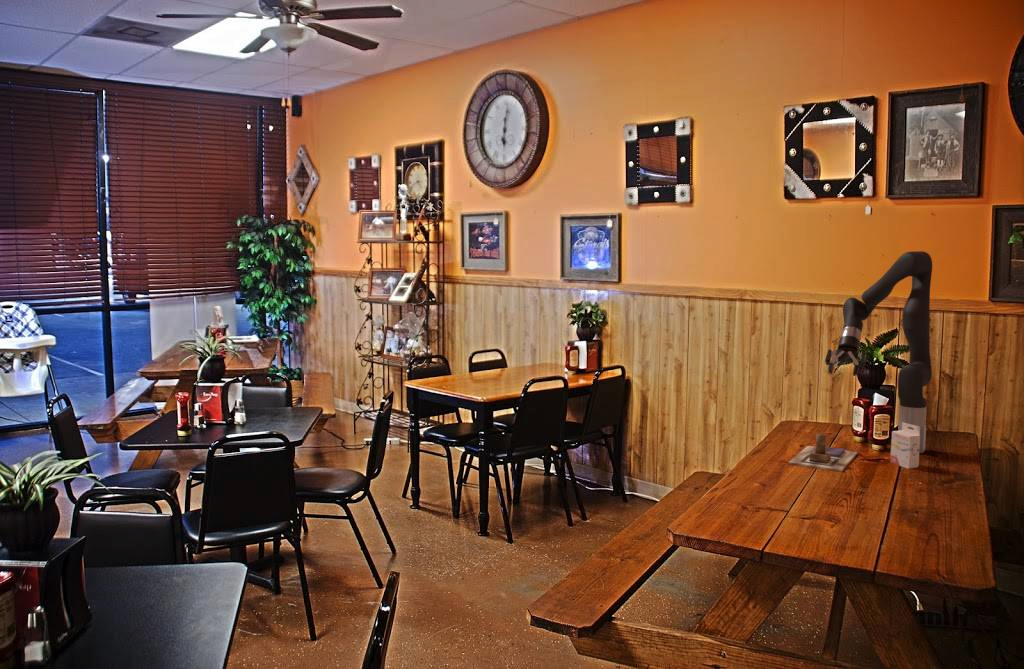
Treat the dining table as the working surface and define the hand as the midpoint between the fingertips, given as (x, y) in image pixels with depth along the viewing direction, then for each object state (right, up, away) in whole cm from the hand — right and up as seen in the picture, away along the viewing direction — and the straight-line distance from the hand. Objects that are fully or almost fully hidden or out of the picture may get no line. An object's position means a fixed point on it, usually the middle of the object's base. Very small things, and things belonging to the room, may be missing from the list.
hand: (842, 373), depth 320 cm
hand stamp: (-16, -30, -19) cm, 39 cm away
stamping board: (-12, -31, -14) cm, 36 cm away
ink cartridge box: (+13, -32, -22) cm, 41 cm away
